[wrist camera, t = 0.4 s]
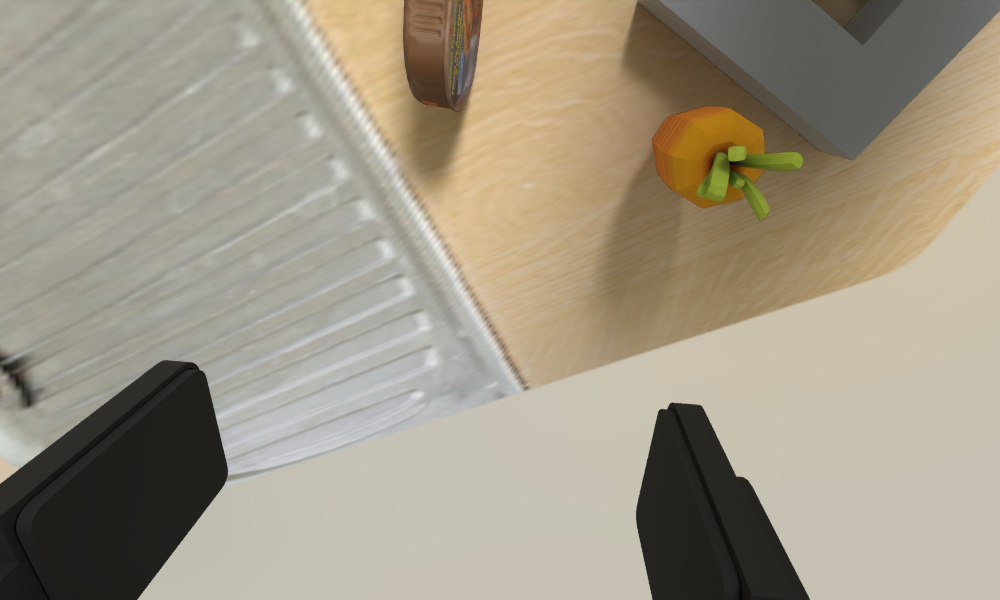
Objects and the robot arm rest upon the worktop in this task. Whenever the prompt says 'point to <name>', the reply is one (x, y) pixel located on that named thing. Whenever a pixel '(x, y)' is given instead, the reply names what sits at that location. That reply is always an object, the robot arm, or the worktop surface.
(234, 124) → the worktop surface
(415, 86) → the tin
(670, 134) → the carrot
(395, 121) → the worktop surface
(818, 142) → the socket block
